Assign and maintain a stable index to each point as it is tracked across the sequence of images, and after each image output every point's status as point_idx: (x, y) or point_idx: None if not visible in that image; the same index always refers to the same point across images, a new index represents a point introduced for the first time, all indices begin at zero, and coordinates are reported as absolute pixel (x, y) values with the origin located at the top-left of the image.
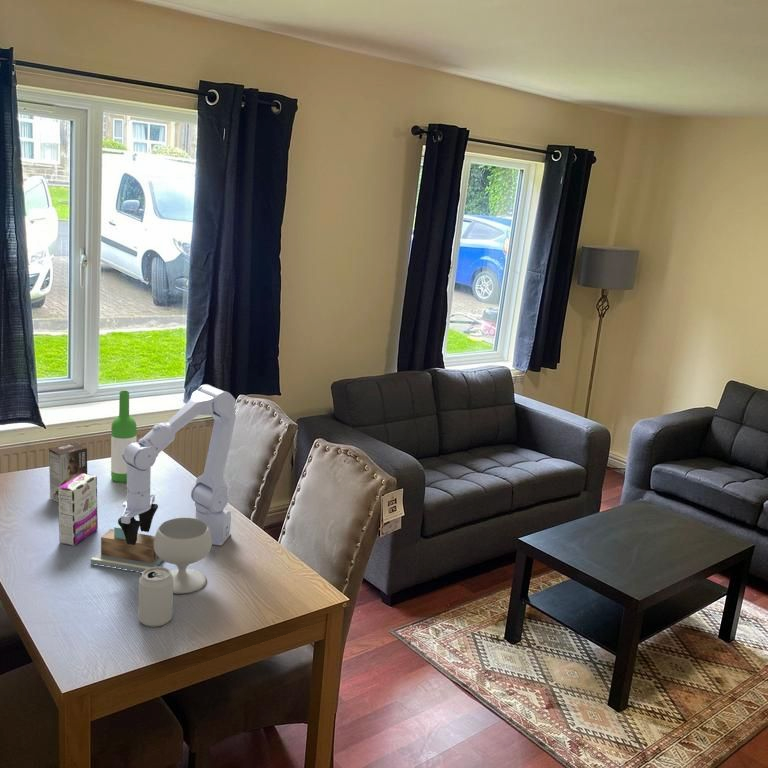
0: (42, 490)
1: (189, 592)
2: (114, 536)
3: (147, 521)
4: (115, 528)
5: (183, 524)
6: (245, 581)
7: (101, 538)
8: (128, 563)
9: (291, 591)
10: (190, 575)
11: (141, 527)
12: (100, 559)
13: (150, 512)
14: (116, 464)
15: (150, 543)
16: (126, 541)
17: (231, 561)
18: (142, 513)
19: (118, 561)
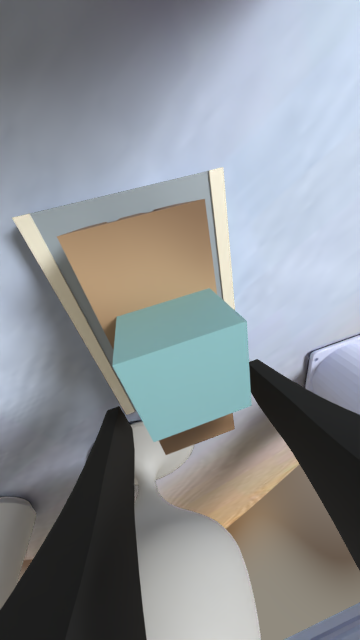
0: None
1: None
2: (116, 323)
3: (285, 431)
4: (116, 368)
5: (245, 611)
6: (205, 486)
7: (61, 239)
8: (110, 358)
9: (209, 515)
10: (160, 468)
11: (257, 378)
12: (48, 263)
13: (337, 513)
14: None
15: (175, 442)
16: (102, 423)
17: (254, 443)
18: (331, 465)
19: (96, 327)
